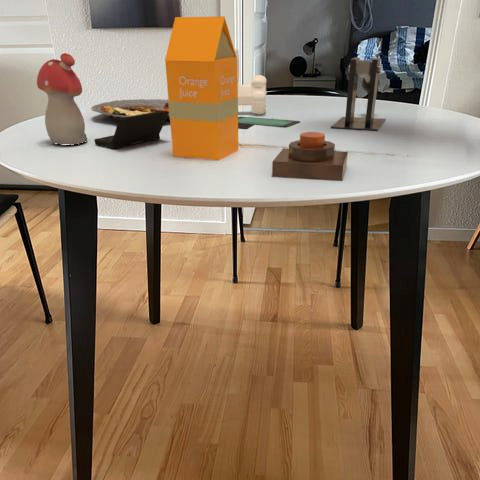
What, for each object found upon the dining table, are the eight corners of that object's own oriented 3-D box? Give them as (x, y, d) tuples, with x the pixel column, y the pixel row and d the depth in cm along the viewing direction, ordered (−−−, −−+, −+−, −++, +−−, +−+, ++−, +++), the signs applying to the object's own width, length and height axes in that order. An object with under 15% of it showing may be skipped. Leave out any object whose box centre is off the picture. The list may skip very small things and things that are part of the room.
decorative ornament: (97, 144, 93) (82, 52, 85) (63, 149, 89) (45, 55, 81) (74, 136, 99) (59, 50, 91) (42, 141, 95) (23, 52, 87)
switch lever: (361, 93, 108) (364, 75, 107) (378, 93, 107) (381, 75, 106) (352, 77, 95) (355, 56, 94) (372, 77, 94) (375, 56, 93)
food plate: (220, 115, 117) (219, 99, 116) (143, 131, 103) (141, 112, 101) (151, 105, 132) (150, 91, 130) (75, 118, 117) (72, 101, 115)
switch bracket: (342, 122, 107) (347, 56, 101) (384, 125, 104) (393, 56, 98) (330, 133, 98) (335, 60, 91) (376, 136, 95) (386, 61, 88)
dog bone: (266, 110, 123) (267, 73, 118) (265, 116, 115) (265, 77, 111) (206, 110, 124) (204, 74, 119) (201, 116, 116) (199, 78, 112)
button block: (346, 167, 76) (349, 139, 74) (341, 181, 70) (344, 152, 68) (282, 163, 79) (283, 137, 77) (272, 177, 72) (272, 148, 70)
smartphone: (239, 115, 110) (301, 120, 104) (239, 121, 111) (301, 126, 104) (221, 120, 105) (285, 126, 98) (221, 127, 105) (285, 132, 99)
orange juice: (195, 146, 90) (187, 17, 79) (239, 150, 87) (237, 16, 76) (172, 156, 84) (160, 17, 73) (218, 161, 81) (213, 16, 70)
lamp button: (325, 144, 74) (326, 132, 73) (322, 150, 71) (323, 137, 70) (301, 143, 74) (302, 131, 73) (297, 149, 71) (298, 136, 70)
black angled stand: (130, 125, 99) (145, 84, 91) (156, 150, 99) (174, 111, 91) (88, 144, 92) (101, 102, 84) (117, 172, 92) (132, 132, 84)
